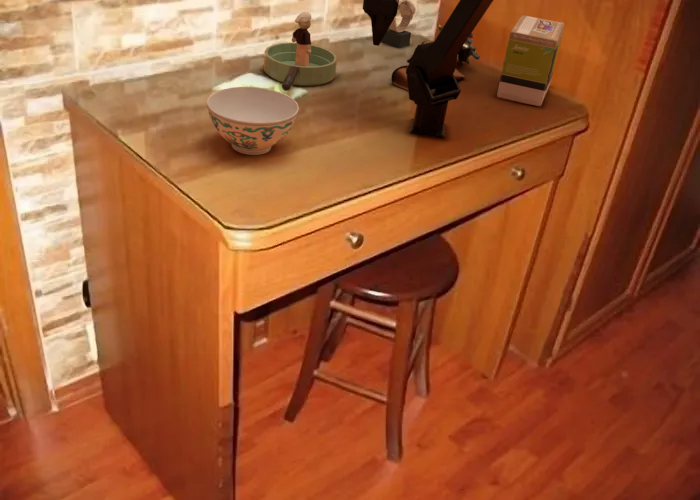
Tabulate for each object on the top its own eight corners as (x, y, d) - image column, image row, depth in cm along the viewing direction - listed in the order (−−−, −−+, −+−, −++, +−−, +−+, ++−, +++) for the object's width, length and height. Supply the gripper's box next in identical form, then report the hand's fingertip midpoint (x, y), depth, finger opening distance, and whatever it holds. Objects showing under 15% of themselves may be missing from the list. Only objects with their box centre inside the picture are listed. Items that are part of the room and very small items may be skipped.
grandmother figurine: (318, 76, 155) (324, 16, 148) (304, 79, 153) (309, 18, 146) (296, 64, 160) (300, 5, 153) (282, 67, 157) (286, 7, 150)
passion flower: (455, 85, 177) (491, 53, 169) (429, 85, 169) (466, 52, 161) (433, 47, 179) (468, 14, 172) (407, 45, 172) (442, 11, 164)
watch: (413, 43, 183) (420, -1, 177) (394, 49, 178) (401, 3, 172) (395, 37, 186) (402, -7, 180) (376, 42, 180) (382, -3, 174)
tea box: (506, 77, 170) (521, 12, 162) (549, 86, 168) (567, 22, 160) (494, 97, 158) (510, 29, 150) (541, 108, 155) (559, 39, 147)
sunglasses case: (421, 94, 153) (413, 62, 152) (396, 100, 158) (388, 70, 157) (468, 77, 165) (460, 47, 164) (443, 83, 170) (435, 55, 169)
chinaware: (247, 120, 133) (249, 80, 129) (312, 147, 127) (316, 106, 123) (187, 144, 123) (187, 101, 118) (255, 175, 116) (257, 130, 112)
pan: (330, 91, 150) (332, 71, 148) (257, 80, 150) (258, 60, 148) (338, 67, 163) (340, 48, 160) (271, 57, 163) (272, 38, 161)
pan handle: (289, 92, 140) (290, 84, 139) (280, 91, 140) (281, 82, 139) (299, 74, 149) (299, 65, 148) (290, 72, 149) (291, 64, 148)
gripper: (350, -63, 140) (342, 18, 149) (339, -44, 125) (330, 46, 133) (408, -55, 140) (396, 26, 148) (403, -34, 124) (390, 55, 133)
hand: (377, 38), depth 141 cm, fingers open, 9 cm apart
